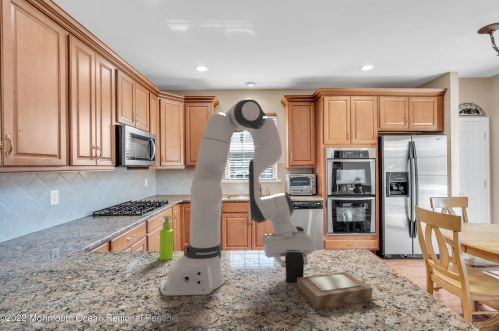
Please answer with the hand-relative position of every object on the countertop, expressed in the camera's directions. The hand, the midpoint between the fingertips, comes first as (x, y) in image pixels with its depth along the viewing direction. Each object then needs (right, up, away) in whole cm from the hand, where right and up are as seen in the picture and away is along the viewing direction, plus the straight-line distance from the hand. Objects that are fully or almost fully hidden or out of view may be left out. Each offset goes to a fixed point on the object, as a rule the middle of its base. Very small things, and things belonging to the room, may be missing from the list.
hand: (294, 265), depth 91 cm
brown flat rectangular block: (+11, -6, -10) cm, 16 cm away
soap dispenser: (-56, -6, +23) cm, 61 cm away
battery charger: (0, -6, 0) cm, 6 cm away
